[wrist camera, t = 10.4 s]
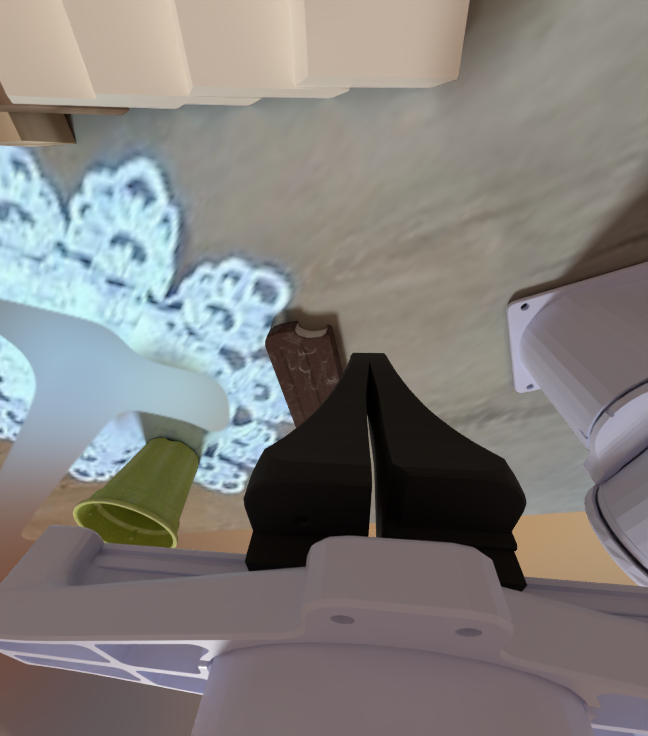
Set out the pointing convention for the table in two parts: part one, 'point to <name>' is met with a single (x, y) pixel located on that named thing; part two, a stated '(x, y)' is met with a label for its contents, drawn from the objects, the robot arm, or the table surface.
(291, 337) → the ice cream bar
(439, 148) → the table surface
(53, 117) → the end block
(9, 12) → the domino
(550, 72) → the table surface
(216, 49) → the domino
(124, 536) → the plant pot
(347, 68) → the domino
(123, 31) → the domino
